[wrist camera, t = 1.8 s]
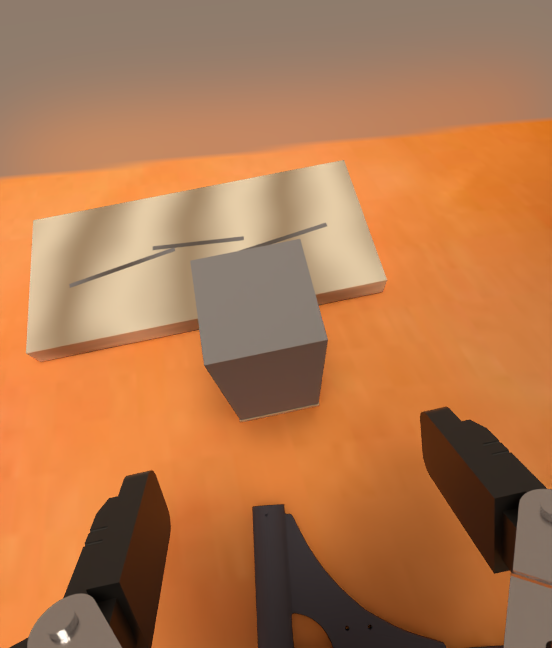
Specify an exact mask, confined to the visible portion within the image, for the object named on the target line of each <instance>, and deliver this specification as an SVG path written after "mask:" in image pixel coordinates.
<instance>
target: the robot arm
mask: <svg viewBox="0 0 552 648" xmlns="http://www.w3.org/2000/svg"><path fill="white" fill-rule="evenodd" d="M420 423H421V437H422V451H423V459H424V463H425V466H426V468H427V471H428V473H429V475H430V477H431V478H432V480H433V481H434V483H435V484H436V486H437V487H438V489H439V490H440V492H441V493H442V495H443V496H444V498H445V499H446V501H447V503H448V504H449V506H450V507H451V509H452V510H453V512H454V513H455V515H456V516H457V518H458V519H459V521H460V522H461V524H462V525H463V527H464V528H465V530H466V531H467V533H468V535H469V536H470V538H471V539H472V541H473V542H474V544H475V545H476V547H477V548H478V550H479V551H480V553H481V554H482V556H483V557H484V559H485V560H486V562H487V563H488V565H489V566H490V568H491V570H492V571H493V573H494V574H495V573H499V572H504V571H508V570H510V571H511V578H510V588H509V598H508V609H507V619H506V629H505V639H504V648H552V490H551V489H547V488H546V487H545V486H544V485H543V484H542V483H541V482H540V481H539V480H538V479H537V478H536V477H535V476H534V475H533V474H532V473H531V472H530V471H529V470H528V469H527V468H526V467H525V466H524V465H523V464H522V463H521V462H520V461H519V460H518V459H517V458H516V457H515V456H514V455H513V454H512V453H509V450H508V449H507V448H506V447H505V446H504V445H503V444H502V443H500V442H499V440H498V439H497V438H496V437H495V436H494V435H493V434H492V433H491V432H490V431H489V430H488V429H487V428H485V427H483V426H481V425H479V424H477V423H475V422H473V421H471V420H466V421H462V422H461V420H460V419H459V418H458V417H457V416H456V415H455V414H454V413H453V412H452V411H451V410H450V409H449V408H448V407H443V408H438V409H434V410H429V411H424V412H422V413H421V415H420ZM170 530H171V525H170V515H169V511H168V508H167V505H166V502H165V499H164V497H163V494H162V491H161V488H160V485H159V483H158V480H157V477H156V475H155V473H154V471H152V470H151V471H147V472H142V473H138V474H133V475H128V476H126V477H125V478H124V481H123V484H122V486H121V489H120V492H119V495H118V496H117V497H113V498H109V499H108V500H107V502H106V503H105V504H104V505H103V506H102V508H101V509H100V510H99V511H98V513H97V514H96V516H95V519H94V521H93V524H92V526H91V529H90V533H89V534H88V537H87V539H86V542H85V547H83V549H82V552H81V555H80V557H79V560H78V562H77V565H76V567H75V570H74V572H73V575H72V577H71V580H70V583H69V585H68V588H67V590H66V593H65V595H64V598H63V599H61V600H59V601H58V602H56V603H55V604H53V605H52V606H51V607H50V608H49V609H47V610H46V611H45V612H44V613H43V614H42V616H41V617H40V618H39V619H38V621H37V622H36V623H35V625H34V627H33V628H32V630H31V633H30V635H29V637H28V638H26V639H25V640H23V641H21V642H19V643H17V644H15V645H14V646H12V647H10V648H151V646H152V640H153V634H154V628H155V622H156V616H157V610H158V604H159V598H160V592H161V586H162V580H163V574H164V568H165V562H166V556H167V550H168V544H169V538H170Z"/></svg>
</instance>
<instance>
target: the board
mask: <svg viewBox="0 0 552 648" xmlns="http://www.w3.org/2000/svg"><path fill="white" fill-rule="evenodd" d="M296 239H300V240H301V243H302V247H303V251H304V254H305V258H306V262H307V265H308V269H309V273H310V276H311V280H312V284H313V287H314V291H315V295H316V298H317V302H318V305H321V304H326V303H330V302H335V301H340V300H345V299H350V298H355V297H360V296H365V295H370V294H374V293H379V292H383V290H384V287H385V284H386V281H387V279H386V276H385V273H384V270H383V267H382V265H381V262H380V259H379V256H378V254H377V251H376V248H375V245H374V242H373V240H372V237H371V234H370V231H369V229H368V226H367V223H366V220H365V217H364V215H363V212H362V209H361V206H360V204H359V201H358V198H357V195H356V192H355V190H354V187H353V184H352V181H351V179H350V176H349V173H348V170H347V167H346V165H345V162H344V160H342V161H337V162H332V163H326V164H321V165H316V166H311V167H306V168H301V169H296V170H290V171H285V172H280V173H275V174H270V175H265V176H259V177H254V178H249V179H244V180H239V181H234V182H229V183H223V184H218V185H213V186H208V187H203V188H198V189H193V190H187V191H182V192H177V193H172V194H167V195H162V196H157V197H151V198H146V199H141V200H136V201H131V202H126V203H121V204H115V205H110V206H105V207H100V208H95V209H90V210H85V211H79V212H74V213H69V214H64V215H59V216H54V217H48V218H43V219H38V220H33V237H32V255H31V273H30V291H29V310H28V328H27V346H26V354H28V355H30V356H31V357H33V358H35V359H36V360H38V361H40V362H42V361H47V360H52V359H57V358H62V357H66V356H71V355H76V354H81V353H86V352H91V351H96V350H101V349H106V348H110V347H115V346H120V345H125V344H130V343H135V342H140V341H145V340H150V339H154V338H159V337H164V336H169V335H174V334H179V333H184V332H189V331H194V330H198V329H199V323H198V315H197V308H196V300H195V293H194V285H193V278H192V270H191V263H190V261H191V260H196V259H201V258H206V257H211V256H216V255H221V254H226V253H231V252H236V251H241V250H246V249H251V248H256V247H261V246H266V245H271V244H276V243H281V242H286V241H291V240H296Z"/></svg>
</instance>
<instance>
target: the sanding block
mask: <svg viewBox="0 0 552 648" xmlns="http://www.w3.org/2000/svg"><path fill="white" fill-rule="evenodd" d="M190 263H191V270H192V278H193V285H194V293H195V300H196V308H197V315H198V323H199V330H200V338H201V345H202V353H203V360H204V366H205V367H206V369H207V370H208V372H209V373H210V375H211V376H212V378H213V379H214V381H215V382H216V384H217V385H218V387H219V388H220V390H221V391H222V393H223V394H224V396H225V398H226V399H227V401H228V402H229V404H230V405H231V407H232V408H233V410H234V411H235V413H236V414H237V416H238V417H239V419H240V422H245V421H250V420H255V419H259V418H264V417H269V416H273V415H278V414H283V413H288V412H292V411H297V410H302V409H307V408H311V407H316V406H319V396H320V389H321V382H322V375H323V368H324V362H325V355H326V348H327V341H328V339H327V335H326V332H325V328H324V324H323V320H322V317H321V313H320V309H319V306H318V302H317V298H316V295H315V291H314V287H313V284H312V280H311V276H310V273H309V269H308V265H307V262H306V258H305V254H304V251H303V247H302V243H301V240H300V239H296V240H291V241H286V242H281V243H276V244H271V245H266V246H261V247H256V248H251V249H246V250H241V251H236V252H231V253H226V254H221V255H216V256H211V257H206V258H201V259H196V260H191V261H190Z"/></svg>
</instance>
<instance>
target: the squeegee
mask: <svg viewBox="0 0 552 648" xmlns="http://www.w3.org/2000/svg"><path fill="white" fill-rule="evenodd" d="M253 532H254V557H255V583H256V608H257V633H258V648H294V645H293V633H292V617H291V614H293V613H298V614H302V615H305V616H308V617H310V618H312V619H313V620H315V621H316V622H317V623H318V624H320V625H321V626H322V628H323V629H324V630H325V632H326V633H327V635H328V636H329V638H330V641H331V643H332V645H333V648H446V646H445V644H444V643H443V642H440V641H437V640H434V639H430V638H427V637H423V636H420V635H417V634H414V633H411V632H407V631H405V630H403V629H400V628H398V627H396V626H394V625H392V624H390V623H388V622H386V621H385V620H383V619H381V618H379V617H377V616H375V615H374V614H372V613H370V612H368V611H367V610H365V609H364V608H362V607H361V606H360V605H359V604H358V603H357V602H356V601H354V600H353V599H352V598H351V597H350V596H349V595H348V594H347V593H346V592H345V591H343V590H342V589H341V588H340V587H339V586H338V585H337V583H336V582H335V581H334V580H333V579H332V578H331V577H330V576H329V575H328V573H327V572H326V571H325V570H324V568H323V567H322V566H321V564H320V563H319V562H318V560H317V559H316V557H315V556H314V554H313V553H312V551H311V550H310V548H309V546H308V545H307V543H306V541H305V539H304V538H303V536H302V534H301V532H300V530H299V528H298V526H297V524H296V522H295V520H294V518H293V516H292V515H291V514H285V511H284V504H283V505H267V506H255V507H253ZM368 625H371V628H368ZM346 626H348V627H349V628H348V629H345V627H346ZM471 648H504V645H502V646H486V647H471Z"/></svg>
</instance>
